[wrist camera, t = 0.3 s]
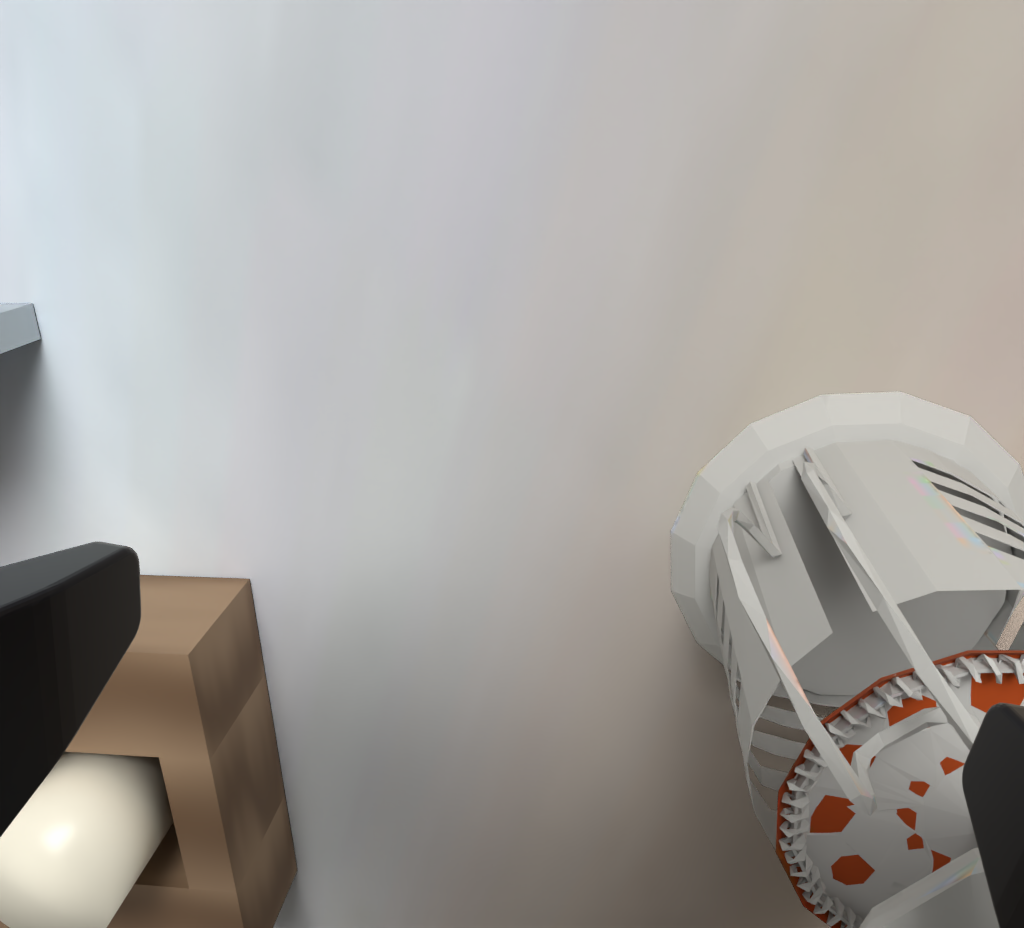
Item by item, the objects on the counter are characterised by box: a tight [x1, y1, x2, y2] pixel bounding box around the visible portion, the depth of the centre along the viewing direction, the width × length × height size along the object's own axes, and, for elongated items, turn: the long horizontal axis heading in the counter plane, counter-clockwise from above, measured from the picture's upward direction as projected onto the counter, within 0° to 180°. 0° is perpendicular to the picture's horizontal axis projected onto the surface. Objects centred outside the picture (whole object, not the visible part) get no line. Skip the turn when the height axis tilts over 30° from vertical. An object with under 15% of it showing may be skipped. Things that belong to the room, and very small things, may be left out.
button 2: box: [0, 752, 174, 928], centre depth 24 cm, size 4×4×4 cm
